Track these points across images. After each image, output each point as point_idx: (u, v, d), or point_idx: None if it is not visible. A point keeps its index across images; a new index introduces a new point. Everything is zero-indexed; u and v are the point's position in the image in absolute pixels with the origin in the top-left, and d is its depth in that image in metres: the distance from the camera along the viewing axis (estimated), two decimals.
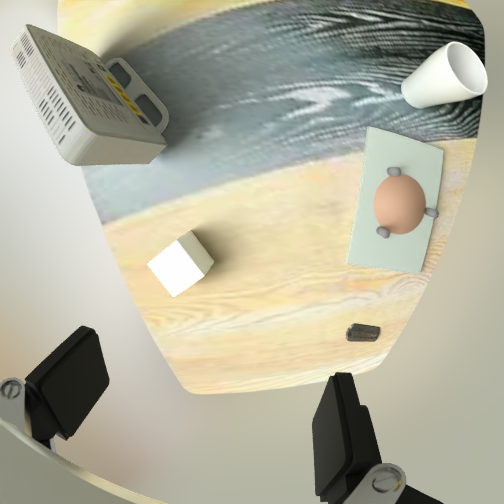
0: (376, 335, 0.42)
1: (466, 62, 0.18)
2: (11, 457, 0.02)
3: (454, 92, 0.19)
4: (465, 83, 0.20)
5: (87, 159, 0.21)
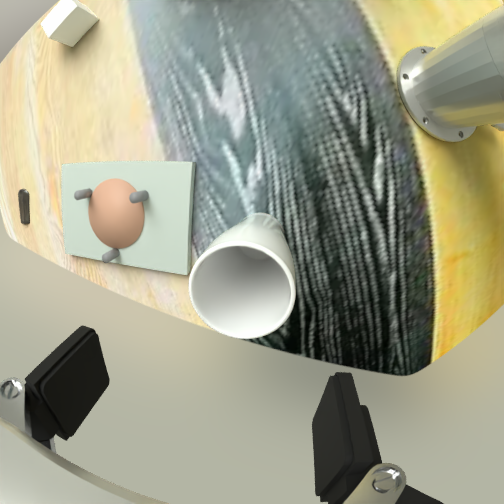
0: (23, 221, 0.34)
1: (277, 306, 0.19)
2: (11, 457, 0.02)
3: None
4: (251, 303, 0.22)
5: None
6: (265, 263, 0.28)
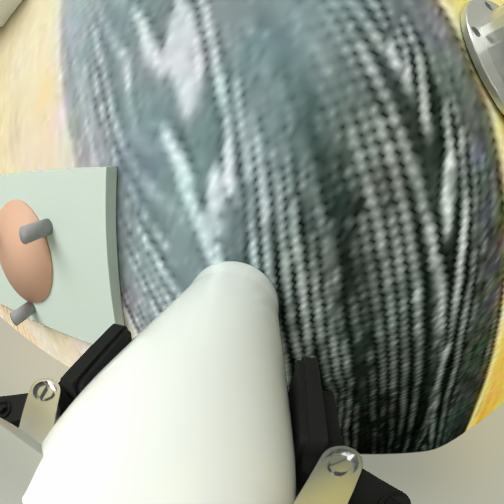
0: None
1: None
2: (11, 457, 0.02)
3: None
4: None
5: None
6: None
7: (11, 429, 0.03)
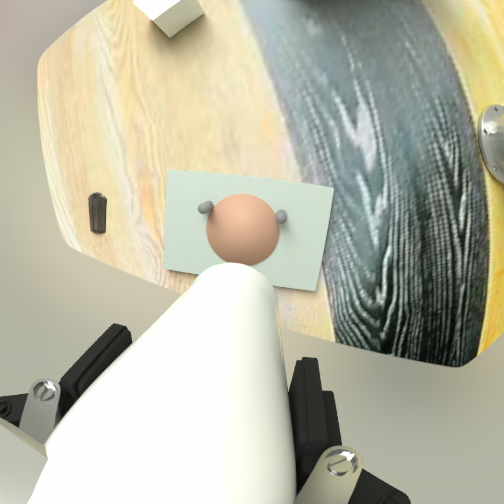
0: (96, 229, 0.36)
1: None
2: (11, 457, 0.02)
3: None
4: None
5: None
6: None
7: (11, 429, 0.03)
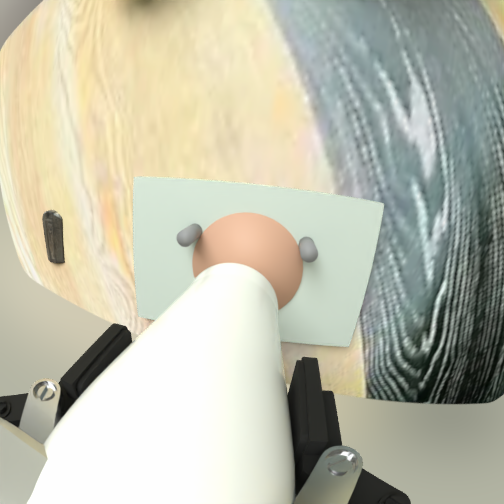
0: (53, 259, 0.25)
1: None
2: (11, 457, 0.02)
3: None
4: None
5: None
6: None
7: (11, 429, 0.03)
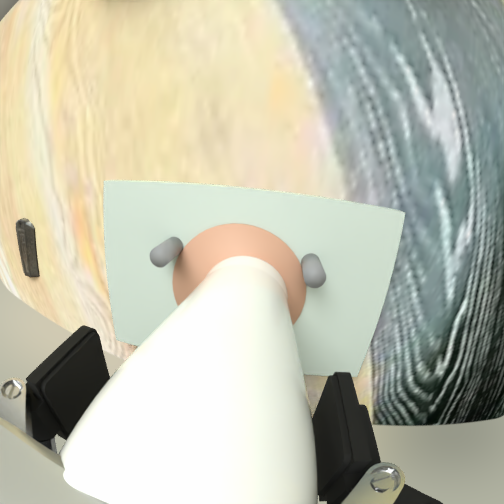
0: (27, 273, 0.20)
1: None
2: (11, 457, 0.02)
3: None
4: None
5: None
6: None
7: (11, 429, 0.03)
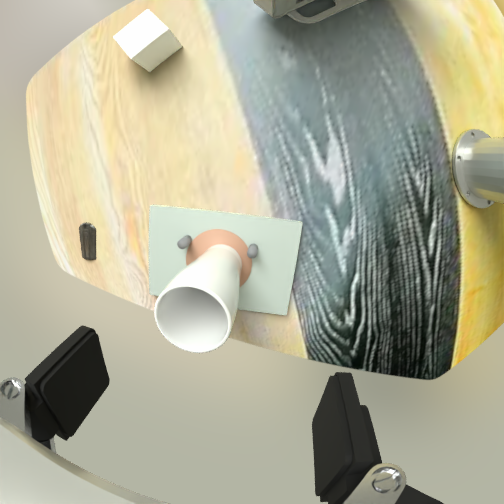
0: (87, 257, 0.38)
1: (224, 328, 0.24)
2: (11, 457, 0.02)
3: None
4: (207, 323, 0.27)
5: None
6: None
7: (11, 429, 0.03)
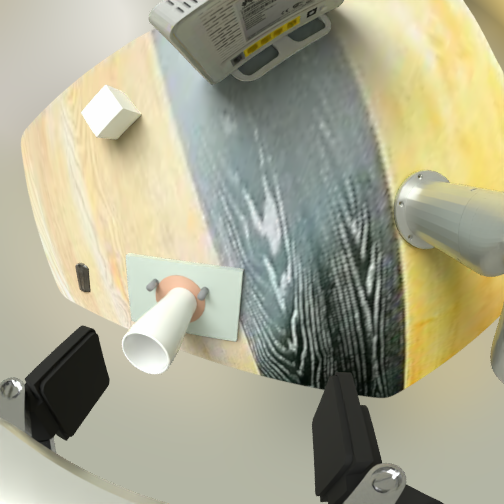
0: (83, 289, 0.47)
1: None
2: (11, 457, 0.02)
3: None
4: (163, 351, 0.35)
5: (157, 29, 0.18)
6: None
7: (11, 429, 0.03)
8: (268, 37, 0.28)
